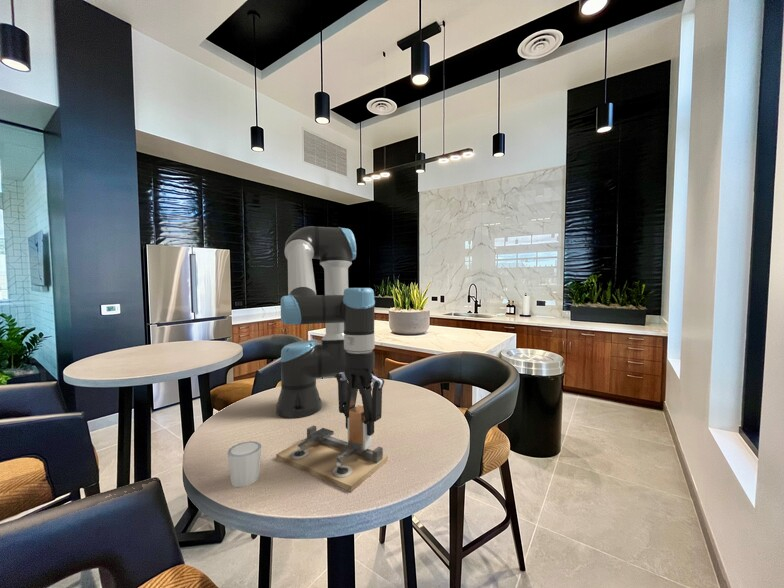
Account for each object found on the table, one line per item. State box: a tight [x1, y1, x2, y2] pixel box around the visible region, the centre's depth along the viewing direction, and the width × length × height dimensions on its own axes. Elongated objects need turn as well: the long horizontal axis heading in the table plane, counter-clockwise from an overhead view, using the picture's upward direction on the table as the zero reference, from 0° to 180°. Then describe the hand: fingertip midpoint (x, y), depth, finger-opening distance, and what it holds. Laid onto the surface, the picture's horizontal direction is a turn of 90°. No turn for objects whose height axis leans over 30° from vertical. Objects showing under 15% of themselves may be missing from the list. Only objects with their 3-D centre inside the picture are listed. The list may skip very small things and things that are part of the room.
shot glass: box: [227, 440, 262, 488], centre depth 71 cm, size 7×7×7 cm
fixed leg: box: [298, 427, 335, 454], centre depth 83 cm, size 4×11×2 cm, turn 148°
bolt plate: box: [275, 425, 389, 493], centre depth 78 cm, size 24×14×4 cm, turn 58°
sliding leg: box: [336, 405, 372, 470], centre depth 76 cm, size 4×11×11 cm, turn 148°
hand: (359, 444), depth 78 cm, fingers closed on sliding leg, 4 cm apart
